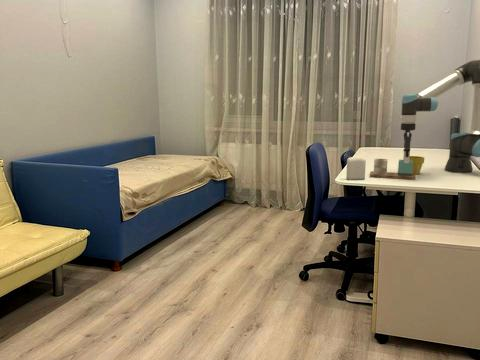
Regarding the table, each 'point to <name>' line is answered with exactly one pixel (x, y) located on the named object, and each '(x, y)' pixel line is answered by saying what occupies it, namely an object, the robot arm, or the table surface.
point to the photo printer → (356, 168)
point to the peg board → (381, 171)
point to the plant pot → (416, 164)
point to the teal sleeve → (405, 168)
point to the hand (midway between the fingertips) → (406, 161)
